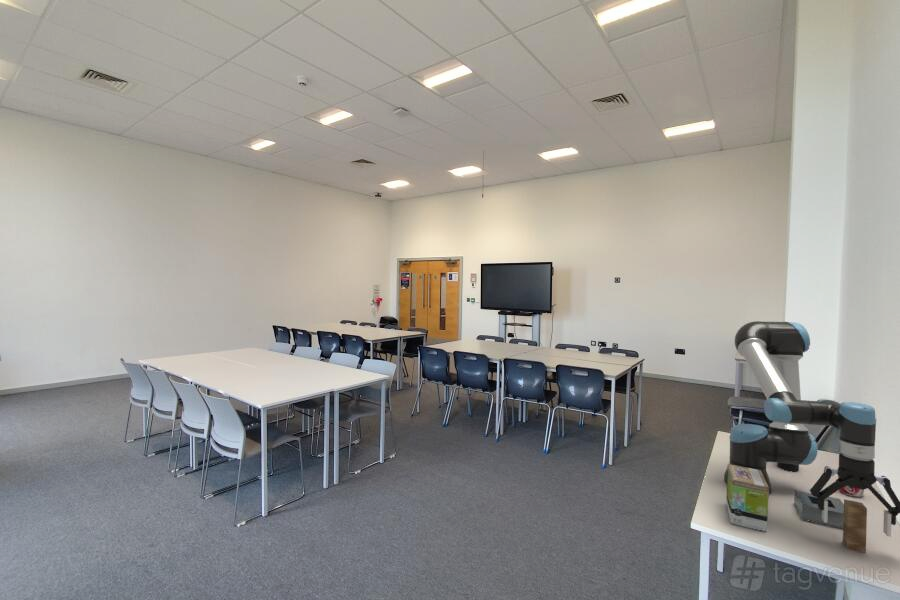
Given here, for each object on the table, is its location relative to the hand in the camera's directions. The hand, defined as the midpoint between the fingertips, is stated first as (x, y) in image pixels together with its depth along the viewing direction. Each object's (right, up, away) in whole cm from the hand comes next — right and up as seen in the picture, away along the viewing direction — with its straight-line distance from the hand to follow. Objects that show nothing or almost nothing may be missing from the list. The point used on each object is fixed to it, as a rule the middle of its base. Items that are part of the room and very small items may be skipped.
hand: (854, 527), depth 121 cm
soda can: (+31, -6, +33) cm, 46 cm away
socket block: (+5, -6, +17) cm, 19 cm away
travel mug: (+26, -5, +55) cm, 61 cm away
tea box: (-21, -6, +16) cm, 27 cm away
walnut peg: (0, -6, 0) cm, 6 cm away
